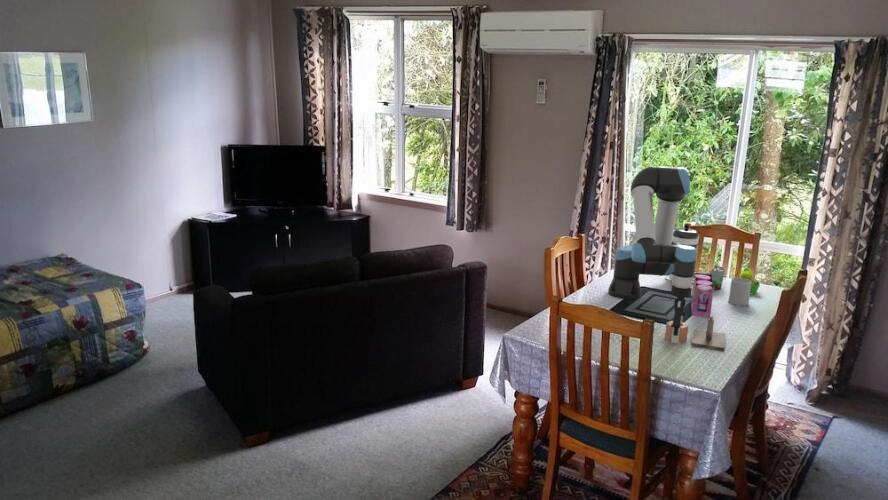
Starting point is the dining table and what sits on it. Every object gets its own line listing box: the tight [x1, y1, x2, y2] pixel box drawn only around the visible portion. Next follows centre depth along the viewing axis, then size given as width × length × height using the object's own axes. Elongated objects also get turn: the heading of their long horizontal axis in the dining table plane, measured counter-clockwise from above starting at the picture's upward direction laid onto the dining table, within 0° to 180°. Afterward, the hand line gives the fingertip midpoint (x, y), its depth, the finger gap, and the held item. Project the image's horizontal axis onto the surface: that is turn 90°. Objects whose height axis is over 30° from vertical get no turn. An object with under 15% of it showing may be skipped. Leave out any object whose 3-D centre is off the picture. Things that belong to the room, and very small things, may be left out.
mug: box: [728, 277, 751, 307], centre depth 311 cm, size 12×8×11 cm
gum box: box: [690, 272, 715, 319], centre depth 300 cm, size 24×8×14 cm, turn 161°
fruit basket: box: [740, 267, 761, 295], centre depth 327 cm, size 11×9×11 cm
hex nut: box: [664, 320, 689, 344], centre depth 267 cm, size 7×8×6 cm
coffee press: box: [664, 223, 700, 285], centre depth 336 cm, size 17×16×30 cm
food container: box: [709, 265, 726, 291], centre depth 330 cm, size 12×6×10 cm, turn 148°
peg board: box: [690, 315, 726, 352], centre depth 265 cm, size 12×16×10 cm
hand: (676, 336), depth 267 cm, fingers open, 13 cm apart
